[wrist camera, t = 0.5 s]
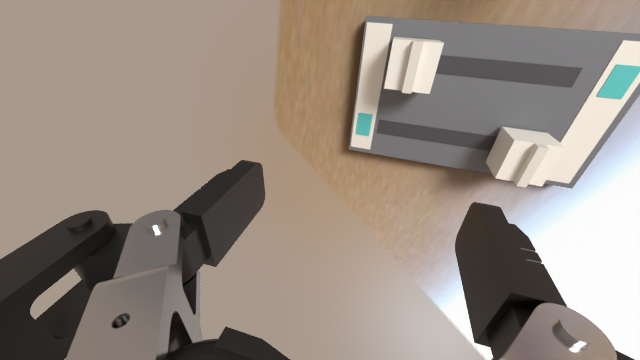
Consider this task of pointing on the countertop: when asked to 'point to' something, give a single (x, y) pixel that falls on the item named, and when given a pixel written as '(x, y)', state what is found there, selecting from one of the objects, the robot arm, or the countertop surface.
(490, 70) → the switch panel
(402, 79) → the tab
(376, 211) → the countertop surface
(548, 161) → the tab
